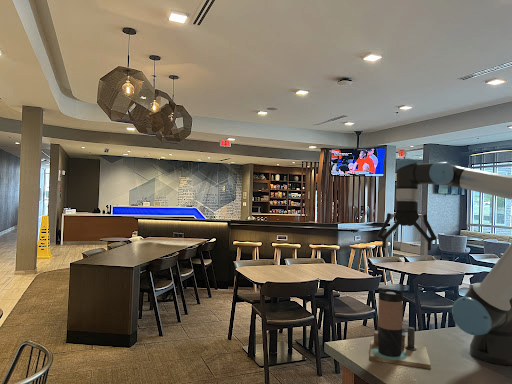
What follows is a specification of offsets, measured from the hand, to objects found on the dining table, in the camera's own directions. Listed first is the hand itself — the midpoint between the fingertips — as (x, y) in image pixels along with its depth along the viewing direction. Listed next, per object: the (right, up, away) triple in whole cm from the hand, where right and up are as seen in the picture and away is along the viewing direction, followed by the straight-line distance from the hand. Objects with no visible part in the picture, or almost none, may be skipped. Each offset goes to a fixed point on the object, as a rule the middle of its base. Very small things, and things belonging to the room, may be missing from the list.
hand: (405, 258), depth 146 cm
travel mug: (-11, -29, -16) cm, 35 cm away
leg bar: (-9, -28, -9) cm, 31 cm away
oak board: (-8, -30, -14) cm, 34 cm away
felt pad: (-11, -29, -16) cm, 35 cm away
